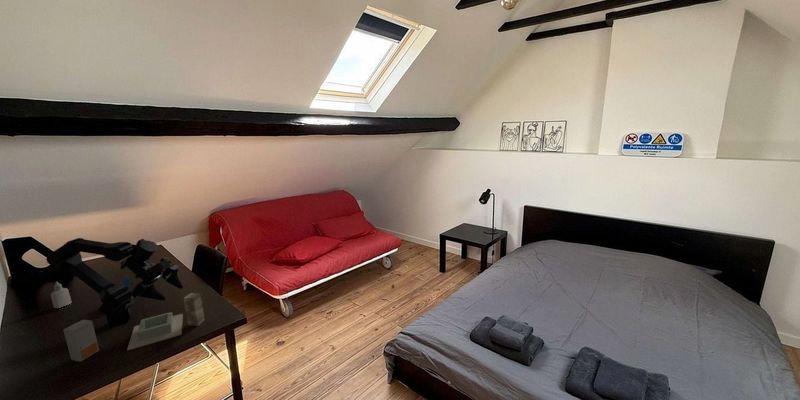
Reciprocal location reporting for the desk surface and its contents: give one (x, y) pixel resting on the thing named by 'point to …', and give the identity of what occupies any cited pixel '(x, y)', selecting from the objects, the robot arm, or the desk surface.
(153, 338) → the socket board
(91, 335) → the skincare box
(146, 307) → the desk surface
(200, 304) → the ash peg
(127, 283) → the label tape cartridge
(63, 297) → the eye dropper bottle
